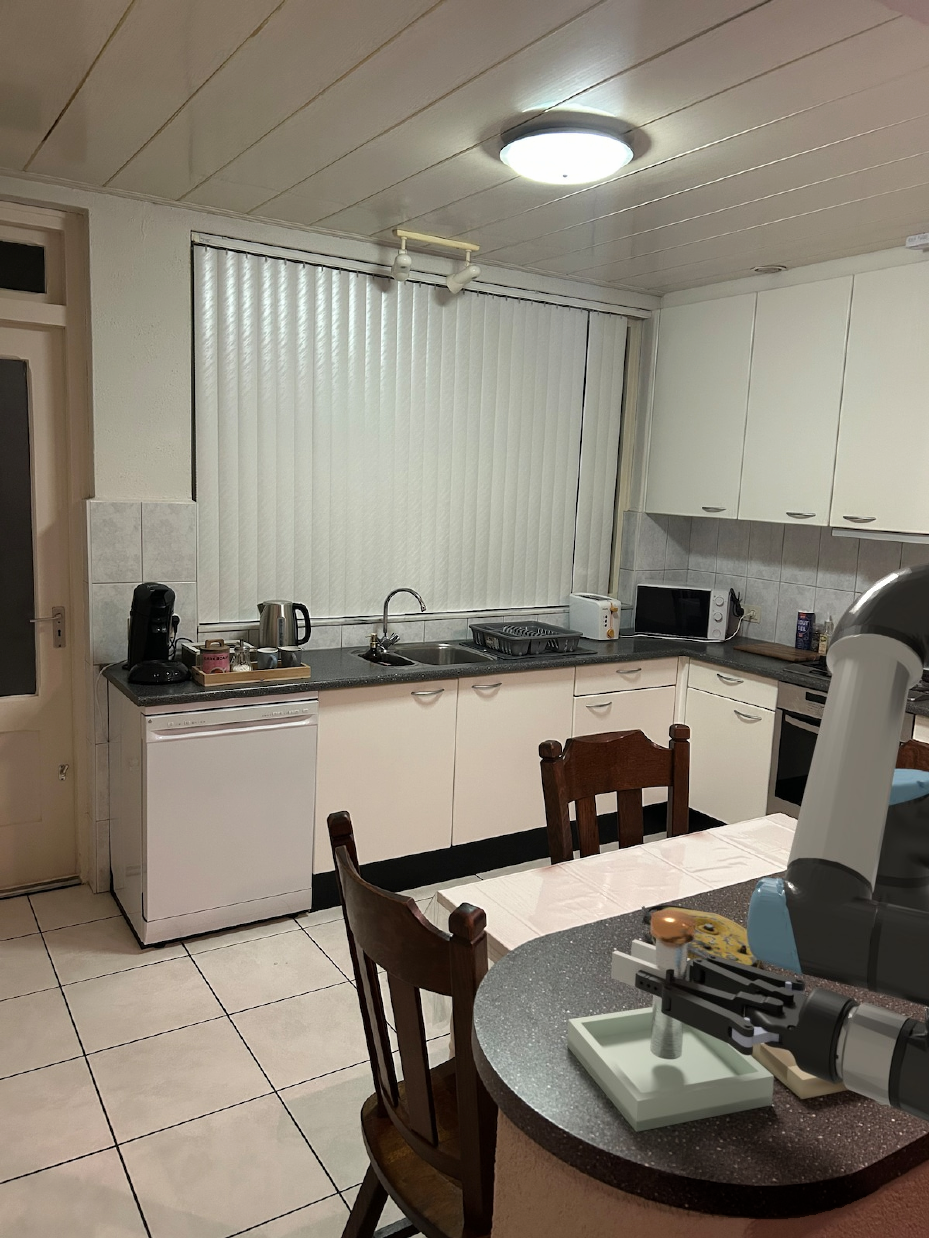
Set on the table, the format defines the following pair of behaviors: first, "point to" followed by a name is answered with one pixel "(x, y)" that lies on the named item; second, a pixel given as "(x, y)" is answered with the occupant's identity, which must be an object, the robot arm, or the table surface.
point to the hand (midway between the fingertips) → (623, 958)
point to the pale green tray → (666, 1071)
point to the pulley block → (712, 936)
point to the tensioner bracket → (793, 1072)
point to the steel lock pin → (672, 954)
